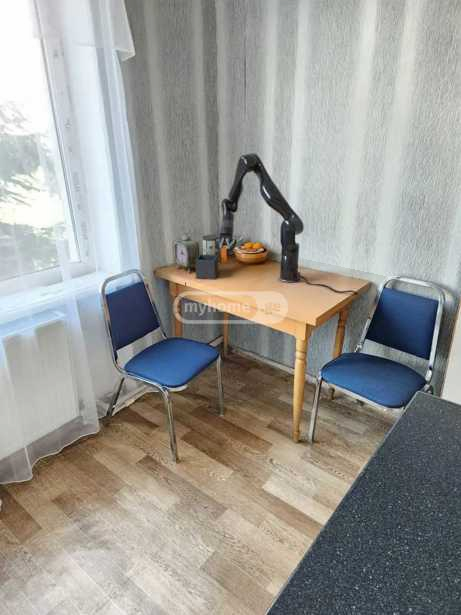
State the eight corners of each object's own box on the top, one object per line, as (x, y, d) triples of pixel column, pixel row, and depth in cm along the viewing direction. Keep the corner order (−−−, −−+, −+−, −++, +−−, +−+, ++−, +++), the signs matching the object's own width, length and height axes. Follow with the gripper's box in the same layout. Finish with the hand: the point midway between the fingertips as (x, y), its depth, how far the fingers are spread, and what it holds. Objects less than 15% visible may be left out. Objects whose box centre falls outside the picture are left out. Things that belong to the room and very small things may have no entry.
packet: (227, 260, 228) (227, 247, 224) (226, 263, 223) (226, 249, 220) (222, 260, 228) (222, 246, 225) (221, 263, 224) (220, 249, 220)
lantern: (214, 255, 255) (214, 234, 249) (222, 259, 247) (221, 237, 241) (200, 258, 250) (199, 236, 244) (207, 262, 242) (206, 239, 236)
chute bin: (218, 273, 224) (217, 255, 220) (214, 279, 215) (214, 260, 210) (200, 272, 225) (199, 254, 221) (196, 278, 216) (195, 260, 212)
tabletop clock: (173, 268, 232) (171, 226, 221) (186, 265, 237) (184, 223, 227) (188, 274, 222) (186, 230, 212) (201, 270, 228) (199, 228, 217)
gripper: (214, 225, 226) (210, 252, 220) (238, 226, 224) (235, 253, 218) (216, 232, 233) (212, 258, 227) (239, 233, 231) (236, 259, 225)
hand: (223, 255), depth 222 cm, fingers closed on packet, 3 cm apart
